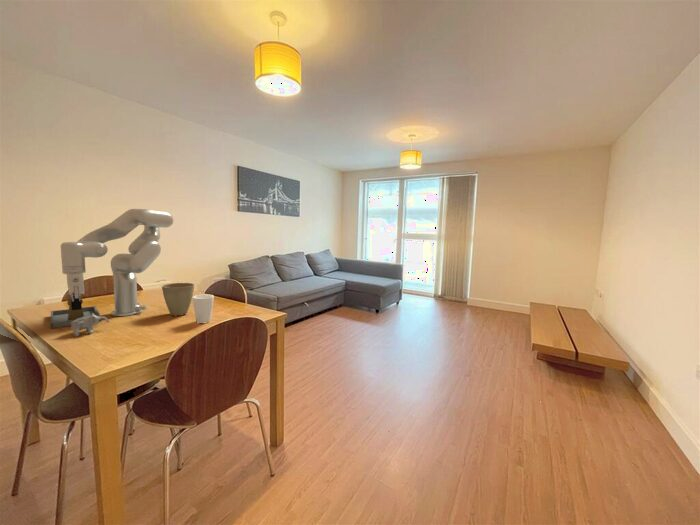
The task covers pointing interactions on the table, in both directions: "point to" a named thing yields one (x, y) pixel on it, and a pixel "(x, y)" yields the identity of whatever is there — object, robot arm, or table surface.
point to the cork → (74, 311)
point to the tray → (61, 316)
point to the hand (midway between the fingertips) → (76, 309)
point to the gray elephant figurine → (85, 323)
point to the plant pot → (178, 297)
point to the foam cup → (203, 307)
